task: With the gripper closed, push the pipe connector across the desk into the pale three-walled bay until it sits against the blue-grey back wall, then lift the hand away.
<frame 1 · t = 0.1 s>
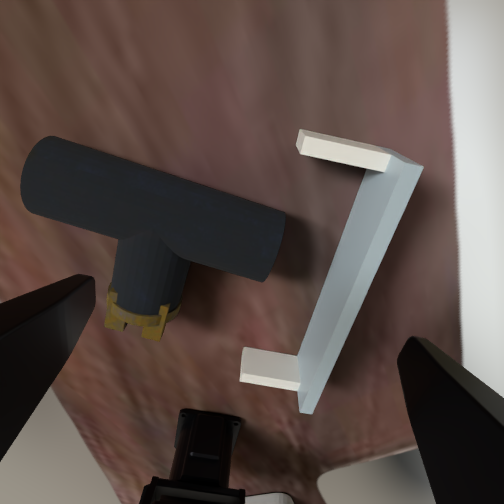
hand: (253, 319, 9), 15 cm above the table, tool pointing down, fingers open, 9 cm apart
pipe connector: (165, 237, 25), on the table
bay: (302, 269, 25), on the table
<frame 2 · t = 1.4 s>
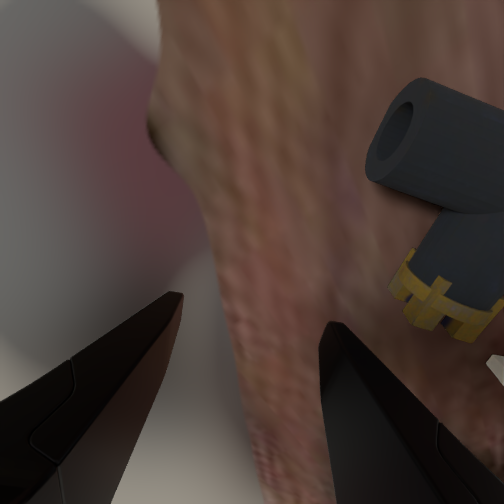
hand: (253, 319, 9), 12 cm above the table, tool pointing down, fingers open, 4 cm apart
pipe connector: (456, 217, 21), on the table
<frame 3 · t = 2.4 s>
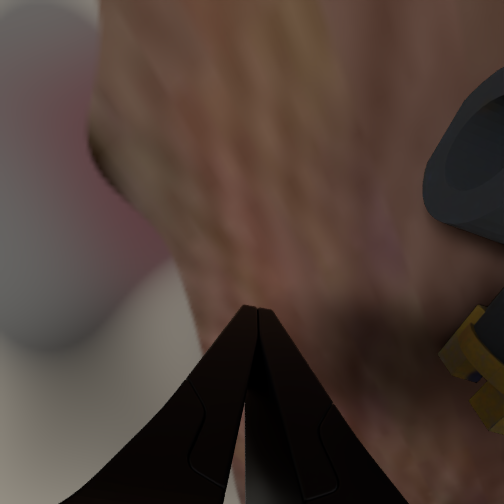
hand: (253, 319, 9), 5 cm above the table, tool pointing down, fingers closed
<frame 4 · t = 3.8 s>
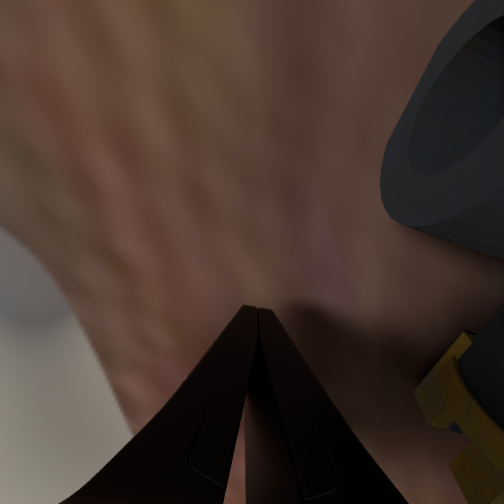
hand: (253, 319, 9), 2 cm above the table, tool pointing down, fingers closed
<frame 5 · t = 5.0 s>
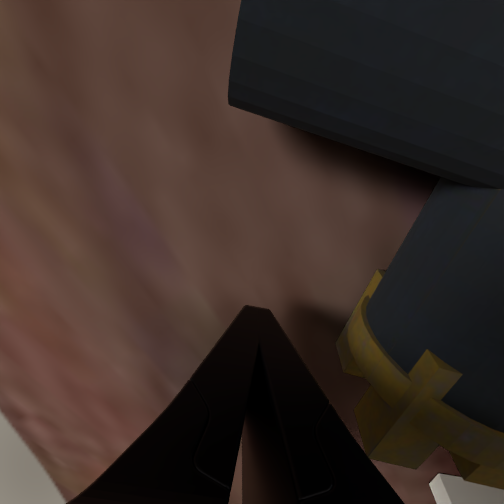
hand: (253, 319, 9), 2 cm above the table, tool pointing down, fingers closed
pipe connector: (468, 205, 10), on the table, touching gripper
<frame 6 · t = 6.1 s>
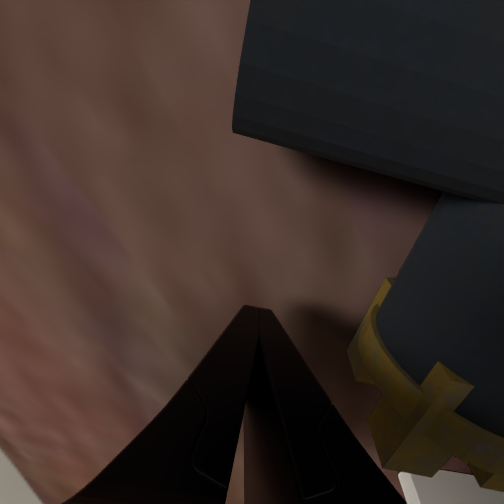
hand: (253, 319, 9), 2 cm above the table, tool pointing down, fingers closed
pipe connector: (475, 210, 10), on the table
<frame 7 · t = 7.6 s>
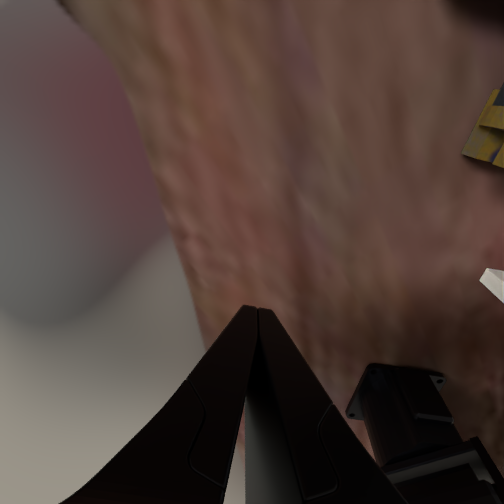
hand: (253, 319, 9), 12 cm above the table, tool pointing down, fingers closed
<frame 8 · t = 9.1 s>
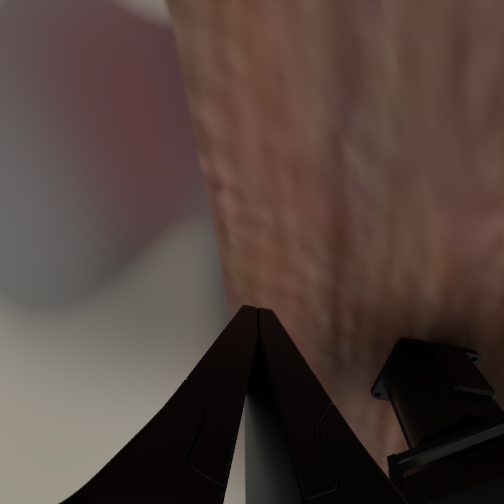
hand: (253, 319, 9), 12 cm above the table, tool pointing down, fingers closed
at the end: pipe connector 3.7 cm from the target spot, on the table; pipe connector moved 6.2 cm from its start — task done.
